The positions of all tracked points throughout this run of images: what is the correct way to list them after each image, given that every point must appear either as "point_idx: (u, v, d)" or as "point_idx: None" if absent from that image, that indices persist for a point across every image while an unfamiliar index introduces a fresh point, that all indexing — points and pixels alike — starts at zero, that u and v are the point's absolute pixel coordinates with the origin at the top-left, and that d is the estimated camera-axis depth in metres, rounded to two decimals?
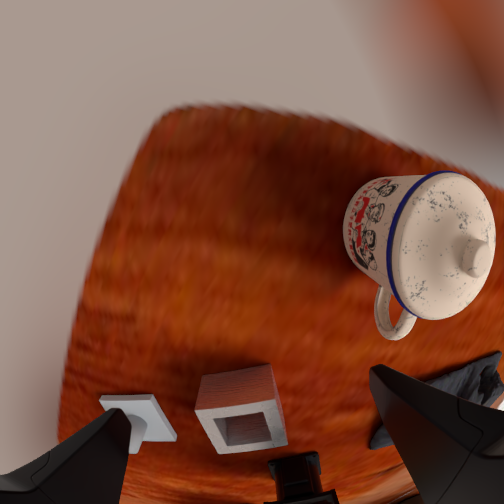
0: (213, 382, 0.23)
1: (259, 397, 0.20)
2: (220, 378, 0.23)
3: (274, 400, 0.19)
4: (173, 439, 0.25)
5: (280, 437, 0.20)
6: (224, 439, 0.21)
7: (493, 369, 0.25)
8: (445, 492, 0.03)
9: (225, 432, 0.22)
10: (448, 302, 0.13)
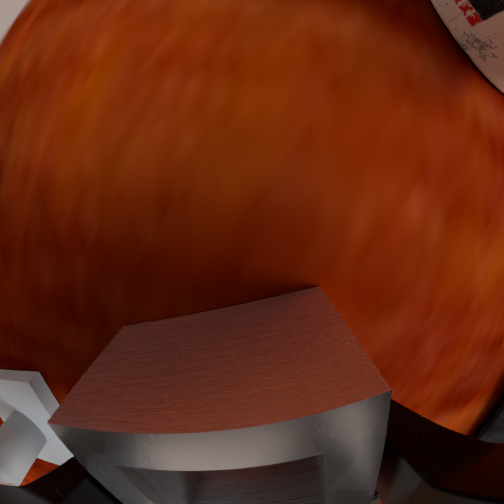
0: (142, 341, 0.07)
1: (307, 392, 0.04)
2: (165, 330, 0.08)
3: (386, 397, 0.04)
4: None
5: None
6: None
7: None
8: None
9: (183, 493, 0.06)
10: None
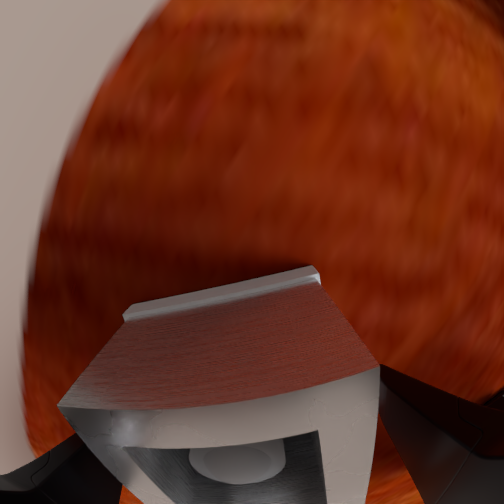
0: (147, 330, 0.08)
1: (303, 369, 0.05)
2: (169, 319, 0.08)
3: (375, 374, 0.04)
4: None
5: (350, 495, 0.05)
6: (180, 502, 0.05)
7: None
8: (444, 492, 0.03)
9: (186, 479, 0.06)
10: None
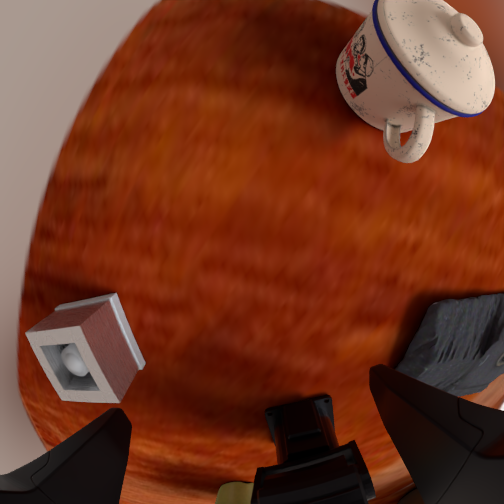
0: (57, 314, 0.19)
1: (71, 324, 0.16)
2: (65, 310, 0.19)
3: (80, 327, 0.15)
4: None
5: (106, 388, 0.16)
6: (59, 379, 0.16)
7: None
8: (445, 492, 0.03)
9: (66, 374, 0.17)
10: (460, 81, 0.09)
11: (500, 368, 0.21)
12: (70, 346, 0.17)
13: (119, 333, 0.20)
